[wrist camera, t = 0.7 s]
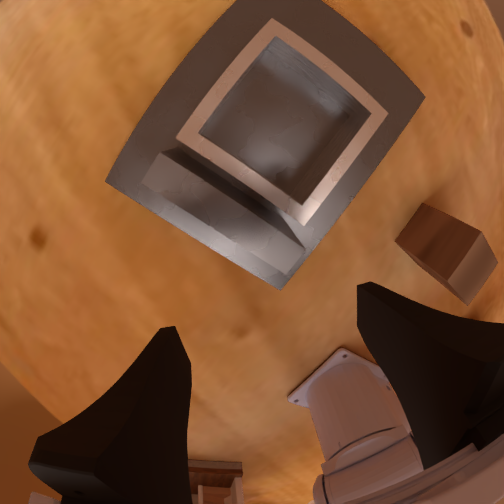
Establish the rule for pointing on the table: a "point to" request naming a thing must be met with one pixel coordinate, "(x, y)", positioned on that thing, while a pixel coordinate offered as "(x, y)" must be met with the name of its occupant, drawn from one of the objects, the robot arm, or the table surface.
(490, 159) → the table surface
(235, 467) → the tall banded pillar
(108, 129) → the table surface
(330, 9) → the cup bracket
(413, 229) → the rail post
